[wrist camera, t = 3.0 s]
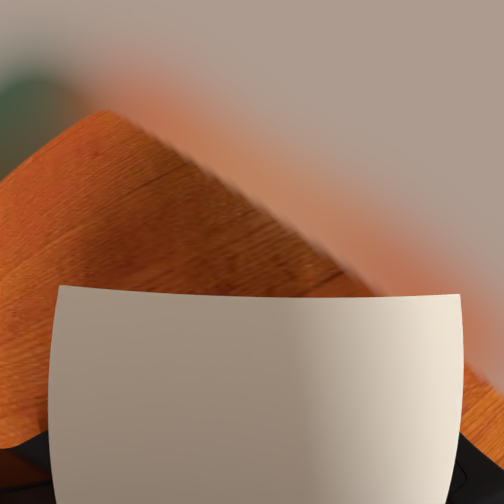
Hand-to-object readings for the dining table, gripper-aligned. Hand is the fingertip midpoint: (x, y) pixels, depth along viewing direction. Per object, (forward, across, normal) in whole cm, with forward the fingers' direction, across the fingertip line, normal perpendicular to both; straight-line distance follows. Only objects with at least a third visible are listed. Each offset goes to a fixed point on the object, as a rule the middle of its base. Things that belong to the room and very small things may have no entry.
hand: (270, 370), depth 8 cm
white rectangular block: (+4, 0, +6) cm, 7 cm away
